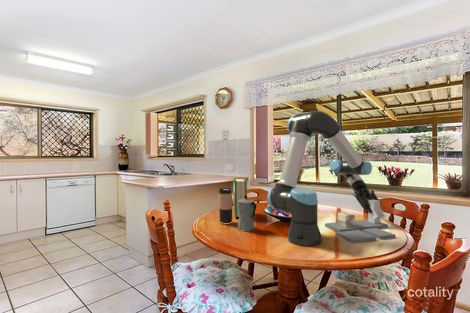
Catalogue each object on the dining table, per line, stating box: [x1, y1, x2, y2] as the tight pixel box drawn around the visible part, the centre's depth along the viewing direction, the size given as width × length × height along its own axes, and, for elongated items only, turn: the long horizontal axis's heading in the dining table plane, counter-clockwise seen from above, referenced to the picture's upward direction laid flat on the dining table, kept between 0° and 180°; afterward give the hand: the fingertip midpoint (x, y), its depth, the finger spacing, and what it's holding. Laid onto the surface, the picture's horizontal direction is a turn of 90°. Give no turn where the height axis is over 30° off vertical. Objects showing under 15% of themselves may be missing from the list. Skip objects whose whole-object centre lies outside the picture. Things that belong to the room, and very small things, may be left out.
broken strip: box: [335, 228, 396, 244], centre depth 119 cm, size 24×11×2 cm, turn 105°
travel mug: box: [218, 187, 233, 223], centre depth 146 cm, size 8×8×20 cm
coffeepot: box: [237, 195, 257, 232], centre depth 133 cm, size 15×9×18 cm, turn 33°
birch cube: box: [337, 211, 356, 227], centre depth 132 cm, size 6×6×6 cm
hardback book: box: [232, 177, 248, 218], centre depth 164 cm, size 18×7×24 cm, turn 3°
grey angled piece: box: [324, 199, 389, 232], centre depth 134 cm, size 30×12×14 cm, turn 105°
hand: (379, 217), depth 133 cm, fingers closed on grey angled piece, 4 cm apart
